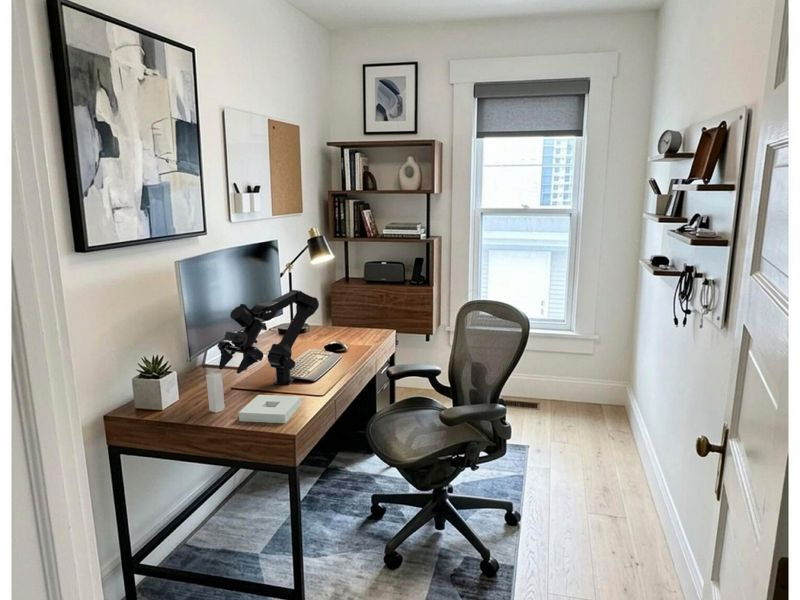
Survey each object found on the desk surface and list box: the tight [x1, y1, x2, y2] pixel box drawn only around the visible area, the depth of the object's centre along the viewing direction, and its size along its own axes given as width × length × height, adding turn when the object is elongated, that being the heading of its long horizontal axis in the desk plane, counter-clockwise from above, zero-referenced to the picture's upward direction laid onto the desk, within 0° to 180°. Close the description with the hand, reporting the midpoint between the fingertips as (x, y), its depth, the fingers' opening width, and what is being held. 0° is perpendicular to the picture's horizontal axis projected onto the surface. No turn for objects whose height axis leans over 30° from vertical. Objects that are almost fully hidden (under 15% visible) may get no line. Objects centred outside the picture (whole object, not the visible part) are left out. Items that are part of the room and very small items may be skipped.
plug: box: [205, 372, 226, 413], centre depth 185 cm, size 4×4×13 cm
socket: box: [238, 394, 302, 424], centre depth 183 cm, size 16×16×3 cm
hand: (228, 371), depth 189 cm, fingers open, 9 cm apart
